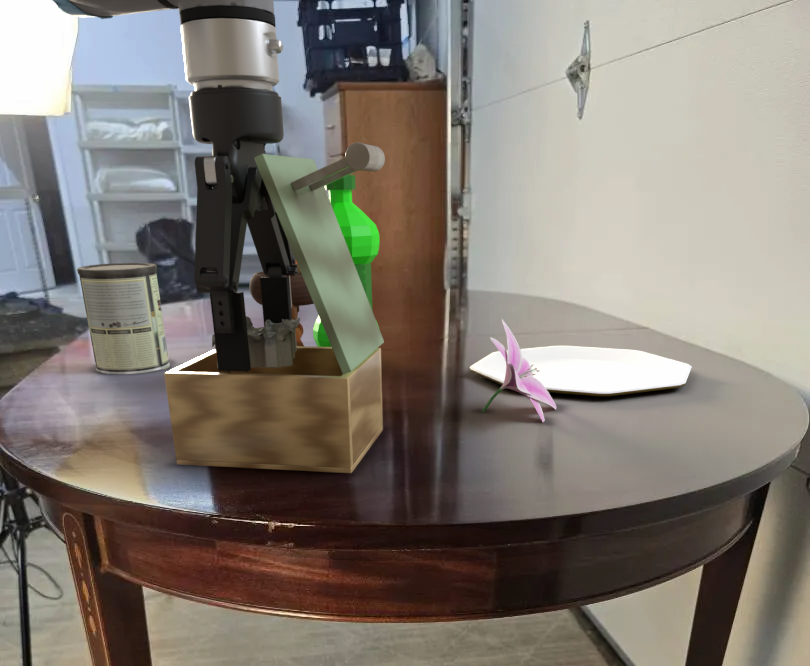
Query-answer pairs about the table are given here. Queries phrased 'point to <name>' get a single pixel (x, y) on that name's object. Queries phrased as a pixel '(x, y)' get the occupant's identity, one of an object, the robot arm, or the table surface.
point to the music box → (297, 296)
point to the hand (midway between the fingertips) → (258, 356)
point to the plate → (592, 370)
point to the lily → (521, 375)
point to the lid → (325, 246)
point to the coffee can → (124, 317)
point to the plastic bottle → (351, 240)
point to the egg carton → (271, 343)
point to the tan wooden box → (276, 413)
